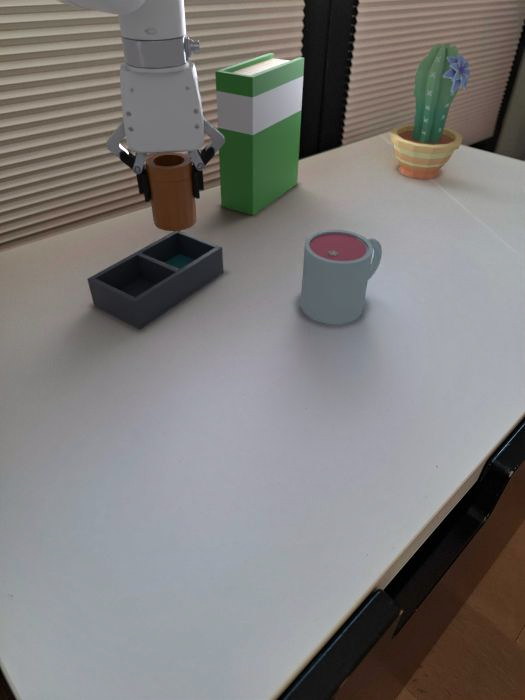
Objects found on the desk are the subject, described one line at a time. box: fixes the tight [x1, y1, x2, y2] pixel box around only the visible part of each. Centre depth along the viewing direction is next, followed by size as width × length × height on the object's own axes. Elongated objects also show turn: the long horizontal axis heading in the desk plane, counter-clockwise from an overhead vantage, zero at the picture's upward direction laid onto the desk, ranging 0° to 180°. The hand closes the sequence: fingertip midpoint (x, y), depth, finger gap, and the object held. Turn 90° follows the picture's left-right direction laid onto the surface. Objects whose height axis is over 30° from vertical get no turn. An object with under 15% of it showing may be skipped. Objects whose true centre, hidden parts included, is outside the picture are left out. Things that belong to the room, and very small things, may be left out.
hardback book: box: [214, 52, 305, 216], centre depth 97 cm, size 18×7×24 cm, turn 148°
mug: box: [300, 229, 383, 325], centre depth 73 cm, size 14×9×10 cm
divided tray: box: [86, 230, 224, 331], centre depth 77 cm, size 10×18×5 cm, turn 144°
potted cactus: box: [390, 43, 471, 180], centre depth 107 cm, size 15×15×25 cm
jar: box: [144, 152, 197, 232], centre depth 72 cm, size 6×6×9 cm
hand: (172, 195), depth 72 cm, fingers closed on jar, 6 cm apart
